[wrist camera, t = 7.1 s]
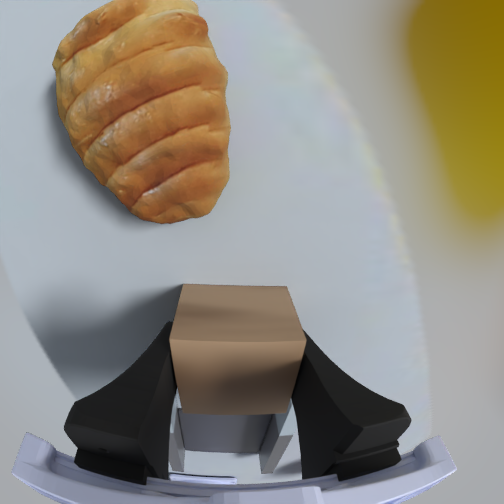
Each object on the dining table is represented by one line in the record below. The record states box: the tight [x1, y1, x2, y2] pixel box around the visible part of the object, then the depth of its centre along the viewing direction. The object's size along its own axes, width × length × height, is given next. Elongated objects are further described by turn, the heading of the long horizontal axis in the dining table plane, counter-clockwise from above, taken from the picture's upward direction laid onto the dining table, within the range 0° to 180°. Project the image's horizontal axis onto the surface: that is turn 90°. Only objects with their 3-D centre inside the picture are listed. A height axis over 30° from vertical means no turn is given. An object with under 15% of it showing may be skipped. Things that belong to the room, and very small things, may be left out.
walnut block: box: [169, 284, 307, 415], centre depth 12 cm, size 5×5×4 cm
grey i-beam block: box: [169, 396, 297, 474], centre depth 17 cm, size 12×9×2 cm
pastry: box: [52, 0, 231, 224], centre depth 8 cm, size 9×7×4 cm
